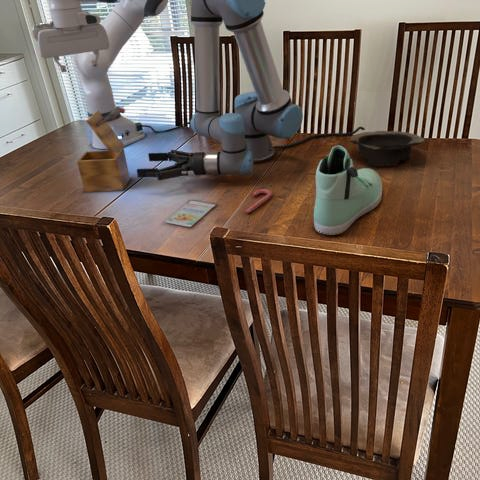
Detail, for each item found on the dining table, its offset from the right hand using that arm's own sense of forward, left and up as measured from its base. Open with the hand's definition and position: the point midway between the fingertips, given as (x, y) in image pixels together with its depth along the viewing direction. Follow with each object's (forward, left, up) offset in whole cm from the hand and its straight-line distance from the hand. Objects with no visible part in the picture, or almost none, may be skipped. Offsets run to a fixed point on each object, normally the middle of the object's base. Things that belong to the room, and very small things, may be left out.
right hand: (143, 164), depth 160 cm
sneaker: (-50, +47, -7) cm, 69 cm away
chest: (+13, -6, -7) cm, 16 cm away
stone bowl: (-81, +20, -7) cm, 84 cm away
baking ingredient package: (-8, +28, -7) cm, 30 cm away
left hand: (+13, -6, +32) cm, 35 cm away
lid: (+10, -5, +11) cm, 15 cm away
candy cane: (-28, +31, -7) cm, 42 cm away
